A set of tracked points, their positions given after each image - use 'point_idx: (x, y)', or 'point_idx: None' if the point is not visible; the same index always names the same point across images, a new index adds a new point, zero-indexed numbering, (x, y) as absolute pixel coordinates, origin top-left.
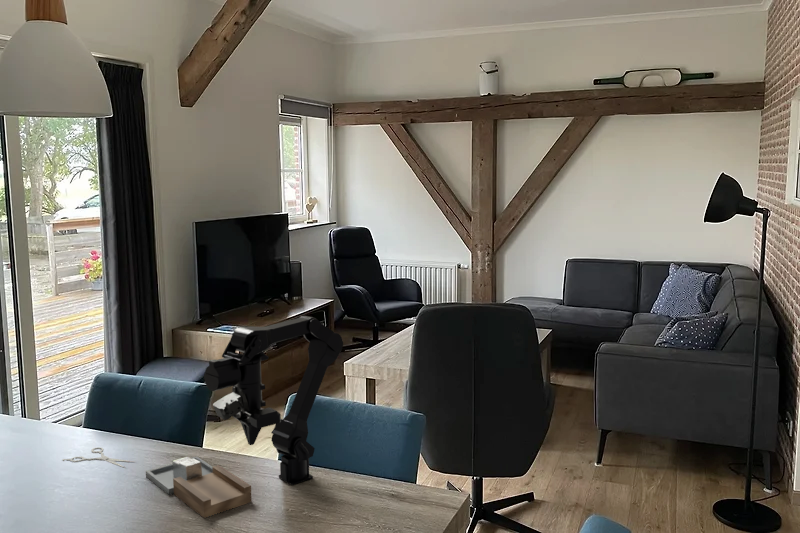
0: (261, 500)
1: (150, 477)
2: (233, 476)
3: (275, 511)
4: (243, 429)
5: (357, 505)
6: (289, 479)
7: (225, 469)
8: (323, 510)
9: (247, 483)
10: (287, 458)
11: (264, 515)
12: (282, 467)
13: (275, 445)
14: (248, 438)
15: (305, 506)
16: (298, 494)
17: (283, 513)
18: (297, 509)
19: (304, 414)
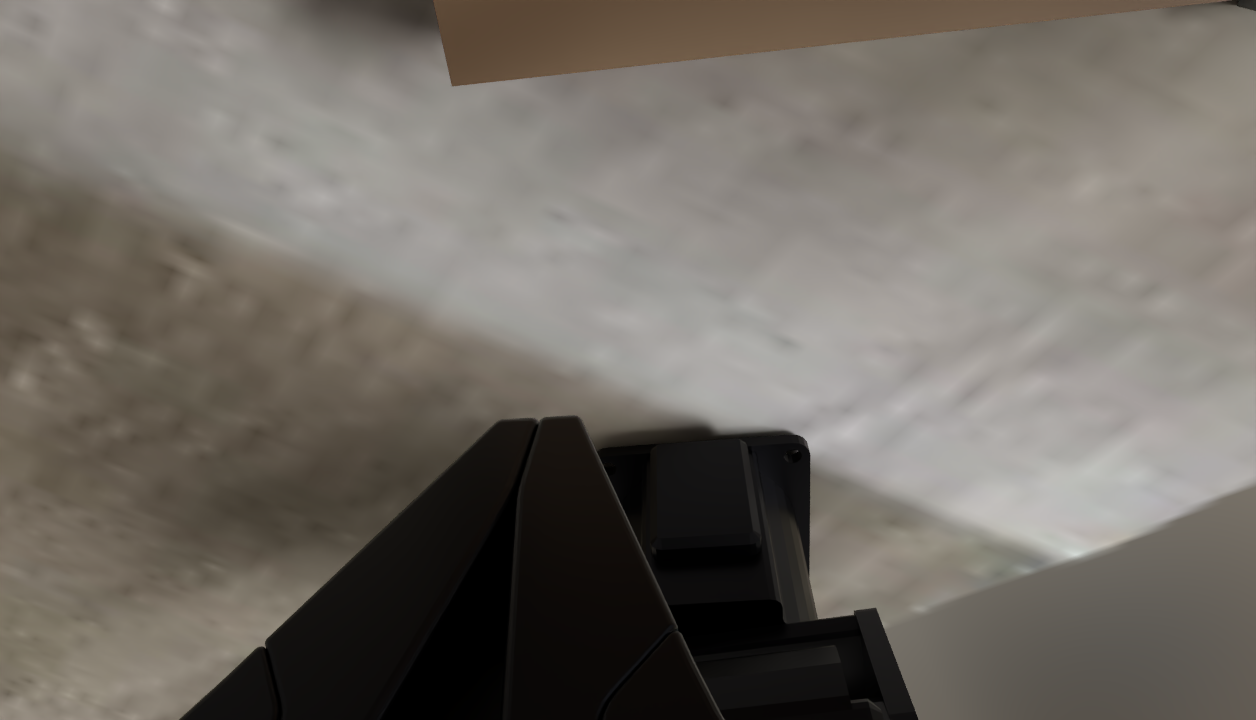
0: (471, 138)
1: None
2: (854, 8)
3: (193, 149)
4: (674, 670)
5: (93, 607)
6: (643, 472)
7: (1143, 6)
8: (85, 439)
9: (537, 75)
10: (683, 615)
11: (145, 26)
12: (711, 514)
13: (789, 674)
14: (461, 510)
15: (196, 375)
16: (424, 421)
17: (129, 189)
18: (165, 309)
19: None
